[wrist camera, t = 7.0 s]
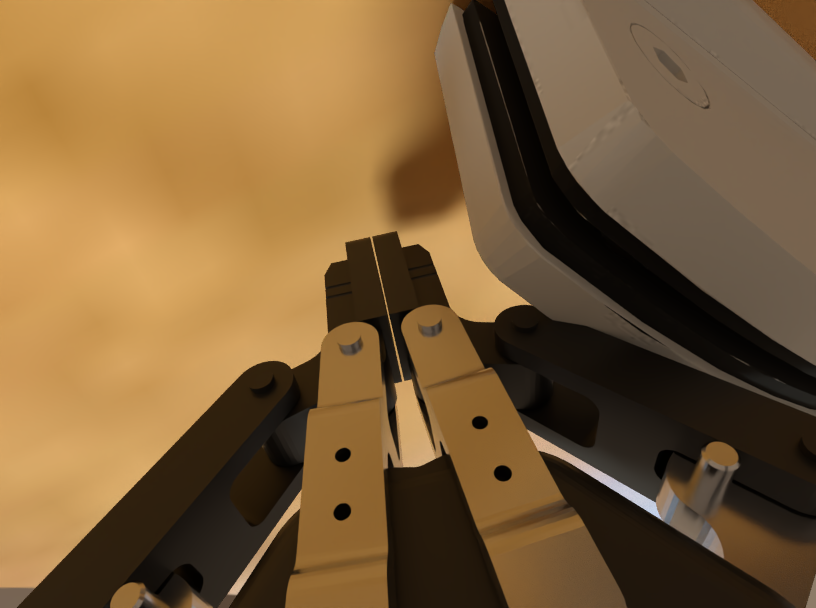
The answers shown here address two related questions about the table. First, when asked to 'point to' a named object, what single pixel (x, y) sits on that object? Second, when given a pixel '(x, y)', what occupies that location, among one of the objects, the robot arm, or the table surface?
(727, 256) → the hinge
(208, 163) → the table surface
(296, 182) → the table surface
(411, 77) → the table surface
